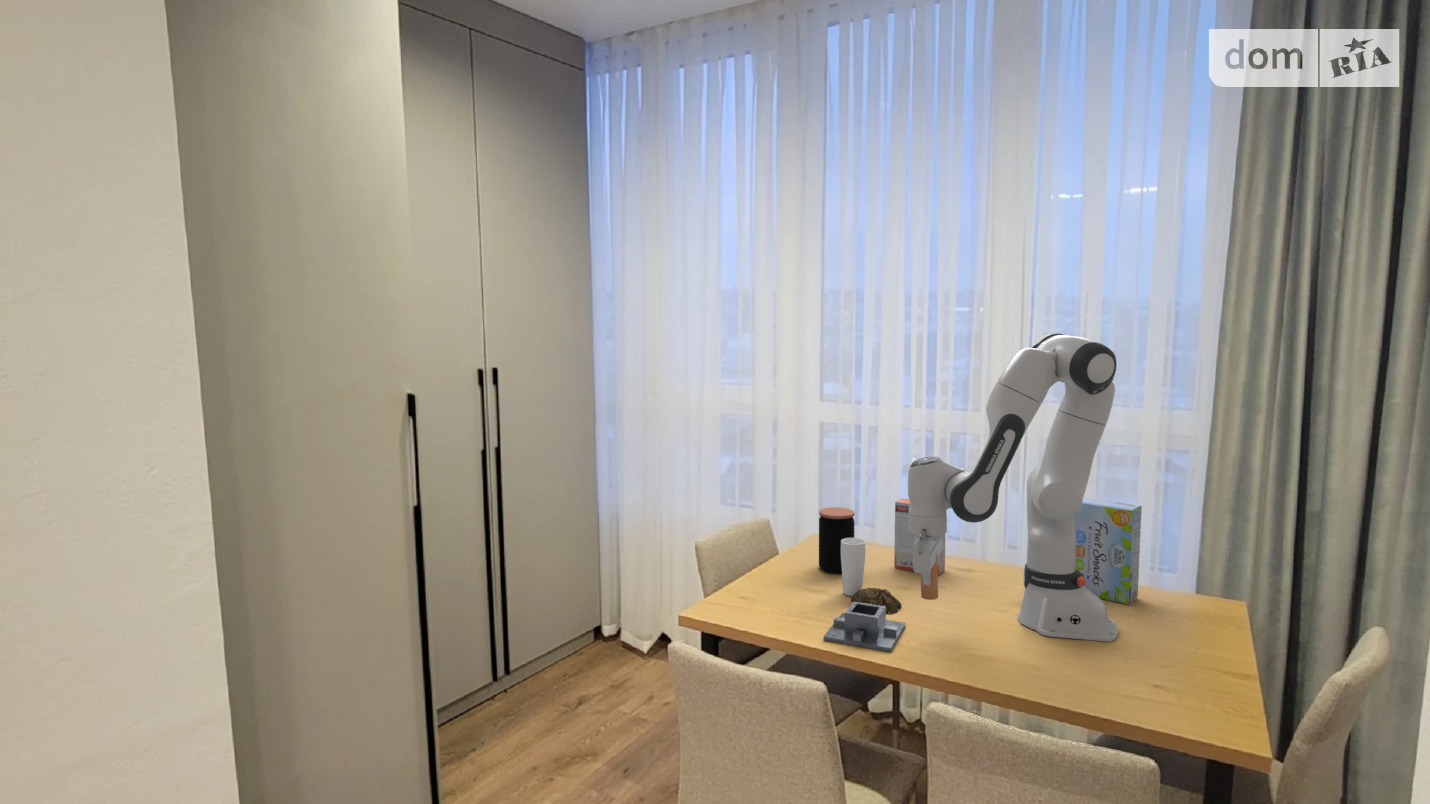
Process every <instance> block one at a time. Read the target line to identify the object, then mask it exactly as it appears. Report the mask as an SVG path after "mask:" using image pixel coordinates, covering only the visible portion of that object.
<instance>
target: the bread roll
mask: <svg viewBox="0 0 1430 804" xmlns="http://www.w3.org/2000/svg"><path fill="white" fill-rule="evenodd" d="M850 597H851V598H850V602H852V603H853V602H860V603H867V604H873V605H880V606H886V613H888V614H896V613H898V612H899V609H901V608H902V603H901V602H900V600H899V599H897V598H896V597H895V596H893V594H891V592H890V590H889V591H888V590H887V589H886V588H883V589H882V588H876V587H866V588H862V590H857V592H855V594H854V595H853V596H850ZM852 603H851V604H852Z"/></svg>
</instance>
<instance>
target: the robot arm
mask: <svg viewBox="0 0 1430 804" xmlns="http://www.w3.org/2000/svg"><path fill="white" fill-rule="evenodd" d="M1116 372H1117V357H1116V354H1115V352H1114V351H1113V350H1111V348H1109V347H1107V346H1106V345H1105V344H1103V343H1100V342H1097V341H1096V342H1095V341H1092V340H1091V339H1088V338H1084V337H1081V336H1072V335H1066V334H1063V333H1049V334H1045V335H1043V336H1041V337H1040V338H1038V340H1036V341H1035V342H1034V343H1033V345H1032V346H1031V347H1028V348H1022V349H1021V350H1019V351H1018V352H1017V353H1016V354H1015V356H1014V357H1013V358H1012V359H1011V360H1010V362H1009V363H1007V366H1006V367H1005V368H1004V370H1003V372H1002V373H1001V375H1000V376H999V377H998V379H997V381H996V383H995V384H994V386H993V388H992V391H991V392H990V395H989V397H988V400H987V403H986V407H985V412H986V416H987V420H988V426H989V434H988V439H987V441H986V444H985V447H984V449H983V450H982V451H981V452H982V453H981V454H980V457H979V458H978V460H977V463H976V464H975V466H974V469H973V470H970V469H967V468H964V467H959V466H956V465H955V464H951V463H949V462H948V461H945V460H944V459H942V458H941V457H939V456H926V457H921V458H918V459H917V460H914V461H913V462H912V463H911V464H910V466H909V469H908V473H907V474H908V475H907V496H908V499H909V500H910V507H909V531H910V532H911V533H912V534H915V541H914V544H913V570H914V571H913V572H914V573H915V574H920V575H921V574H922V577H923V584H925V585H930V584H931V582H932V580H931V579H932V577H931V569H932V567H933V566H934V564H935V562H936V553H937V559H938V557H939V556H940V554H941V552H942V551H943V547H944V535H945V536H946V533H948V517H947V516H948V515H947V513H948V512H947V510H948V509H952V511H953V513H954V514H955V515H956V517H958V518H959V519H961V520H962V521H964V522H966V523H974V524H975V523H981V522H983V521H985V520H987V519H989V518H990V517H991V516H992V515H993V514H994V513H995V511H996V510H997V507H998V501H999V493H1000V487H1001V484H1002V481H1003V479H1004V477H1005V475H1006V472H1007V470H1008V469H1009V467H1010V464H1011V462H1012V460H1013V459H1014V456H1015V455H1016V452H1017V450H1018V448H1019V445H1020V443H1021V442H1022V439H1023V437H1024V435H1025V434H1026V431H1027V430H1028V428H1029V426H1030V425H1031V423H1032V421H1033V420H1034V417H1035V416H1036V414H1037V412H1038V411H1039V409H1040V408H1041V406H1042V404H1043V402H1044V400H1045V398H1046V396H1047V394H1048V392H1049V390H1050V388H1051V387H1052V386H1053V385H1055V384H1056V383H1058V382H1060V383H1062V384H1063V383H1064V388H1065V391H1064V395H1063V397H1062V400H1061V402H1060V405H1059V406H1058V409H1057V412H1056V415H1055V418H1054V420H1053V422H1052V425H1051V428H1050V431H1049V432H1048V436H1047V438H1046V443H1045V448H1044V453H1043V456H1042V460H1041V463H1040V465H1038V466H1036V467H1035V468H1034V469H1033V470H1031V472H1030V473H1029V475H1028V477H1027V480H1026V520H1027V521H1026V523H1027V526H1026V527H1027V545H1026V563H1025V565H1024V569H1023V586H1024V592H1023V598H1022V603H1021V606H1020V610H1019V613H1018V615H1017V620H1018V622H1019V623H1020V624H1022V625H1024V626H1025V627H1027V628H1029V629H1031V630H1034V631H1037V633H1039V634H1041V635H1042V636H1044V637H1052V638H1054V637H1055V638H1063V639H1064V638H1065V639H1075V640H1077V639H1078V640H1087V641H1088V640H1089V641H1098V642H1099V641H1100V642H1112V641H1114V640H1116V639H1117V638H1118V635H1119V631H1118V630H1119V629H1118V625H1117V624H1116V622H1115V621H1114V620H1113V619H1111V618H1110V617H1109V614H1108V611H1107V608H1106V605H1105V603H1104V601H1103V599H1101V598H1098V597H1097V596H1096V595H1095V594H1093V593H1092V592H1091V591H1090V590H1088V589H1087V588H1086V587H1085V586H1084V585H1086V579H1085V578H1084V575H1083V574H1082V571H1081V570H1080V571H1078V570H1077V569H1075V558H1076V532H1075V515H1076V514H1077V513H1078V512H1079V511H1080V509H1081V506H1082V502H1083V498H1085V493H1086V490H1087V486H1088V482H1089V478H1090V474H1091V470H1092V466H1093V462H1094V458H1095V456H1096V452H1097V450H1098V446H1099V444H1100V442H1101V438H1102V436H1103V434H1104V431H1105V429H1106V427H1107V424H1108V421H1109V417H1110V414H1111V411H1112V407H1113V402H1114V399H1115V392H1116V388H1115V387H1116V386H1115V384H1114V377H1115V374H1116ZM920 554H921V555H920Z"/></svg>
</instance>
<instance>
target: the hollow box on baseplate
mask: <svg viewBox="0 0 1430 804" xmlns="http://www.w3.org/2000/svg"><path fill="white" fill-rule="evenodd" d="M886 617H887V612H886V606H880V605H873V604H867V603H860V602H853V603H851V604H850V606H849V607H848V608H847V609H846V610H845V612H842V613H841V614H840V615H839V616H835V617H834V618H833V623H832V625H831V627H830V628H828V629H827V631H826V632H825V634H824V635H823V641H825V642H830V643H836V644H841V645H847V646H854V647H860V648H864V649H868V650H869V649H870V650H877V651H883V652H887V653H891V652H892V651H893V649H894V648H895V646H896V644H897V642H898V641H899V638H900V636H901V635H902V634H903V631H904V630H905V628H906V622H902V621H896V620H889V619H886Z"/></svg>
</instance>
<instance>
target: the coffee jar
mask: <svg viewBox="0 0 1430 804" xmlns="http://www.w3.org/2000/svg"><path fill="white" fill-rule="evenodd" d="M818 514H819V516H820V517H819V518H818V567H819V569H820V570H821V571H822V572H824V573H825V574H830V575H842V567H841V540H842V539H845V538H855V518H854V516H855V510H853V509H851V508H847V507H846V508H845V507H839V506H837V507H835V506H832V507H823V508H822V509H819V510H818Z"/></svg>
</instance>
